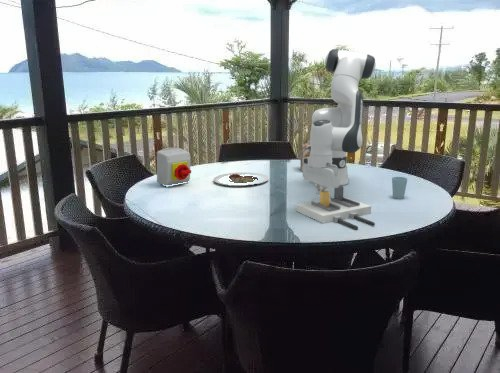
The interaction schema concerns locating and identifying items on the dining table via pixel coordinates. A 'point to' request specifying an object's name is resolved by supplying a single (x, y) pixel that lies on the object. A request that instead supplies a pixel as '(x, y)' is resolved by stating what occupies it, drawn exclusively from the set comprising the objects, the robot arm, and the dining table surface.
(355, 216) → the power cords
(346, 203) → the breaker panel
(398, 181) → the cup
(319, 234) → the dining table surface
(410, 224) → the dining table surface
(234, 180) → the plated food
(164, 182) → the electrical switch box
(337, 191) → the charcoal toggle
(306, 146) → the decorative jar
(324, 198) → the amber toggle
